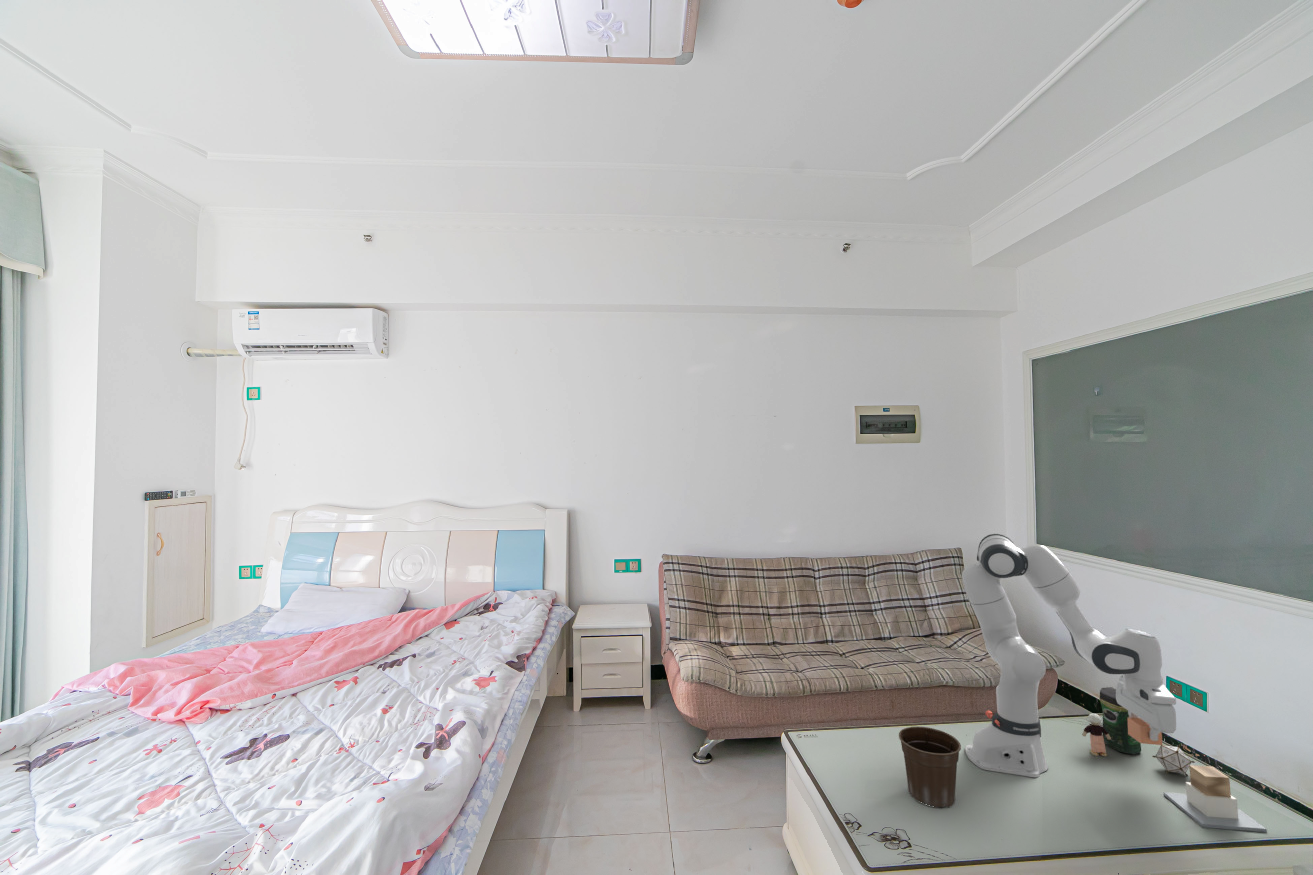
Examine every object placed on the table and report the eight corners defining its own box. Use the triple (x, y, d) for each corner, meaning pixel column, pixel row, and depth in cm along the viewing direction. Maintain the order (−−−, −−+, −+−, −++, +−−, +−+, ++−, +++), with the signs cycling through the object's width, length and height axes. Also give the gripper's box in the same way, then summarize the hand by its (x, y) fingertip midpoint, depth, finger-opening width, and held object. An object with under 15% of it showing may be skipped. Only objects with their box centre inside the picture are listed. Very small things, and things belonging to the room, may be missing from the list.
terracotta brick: (1140, 743, 159) (1140, 725, 159) (1128, 733, 165) (1127, 717, 165) (1162, 744, 158) (1161, 727, 158) (1148, 735, 164) (1148, 718, 164)
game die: (1177, 782, 167) (1190, 753, 169) (1191, 787, 160) (1205, 756, 161) (1142, 761, 172) (1156, 733, 173) (1155, 764, 164) (1169, 735, 166)
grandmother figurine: (1105, 750, 180) (1102, 711, 180) (1114, 756, 176) (1111, 716, 176) (1080, 750, 180) (1077, 710, 181) (1088, 756, 177) (1085, 716, 177)
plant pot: (961, 786, 162) (958, 731, 163) (966, 819, 148) (963, 758, 149) (902, 775, 169) (899, 722, 170) (901, 805, 155) (898, 747, 155)
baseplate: (1202, 826, 142) (1200, 803, 142) (1163, 794, 156) (1162, 773, 156) (1266, 831, 139) (1264, 808, 140) (1221, 798, 153) (1219, 777, 153)
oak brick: (1206, 795, 146) (1205, 776, 146) (1190, 783, 151) (1189, 764, 151) (1230, 797, 145) (1229, 777, 145) (1213, 785, 150) (1212, 766, 150)
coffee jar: (1147, 753, 177) (1142, 695, 178) (1126, 756, 176) (1121, 697, 177) (1117, 739, 187) (1113, 683, 188) (1097, 741, 185) (1093, 685, 186)
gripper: (1108, 672, 173) (1110, 716, 172) (1154, 699, 153) (1156, 750, 152) (1131, 673, 172) (1132, 718, 171) (1180, 701, 152) (1182, 752, 151)
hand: (1144, 733), depth 162 cm, fingers closed on terracotta brick, 5 cm apart
